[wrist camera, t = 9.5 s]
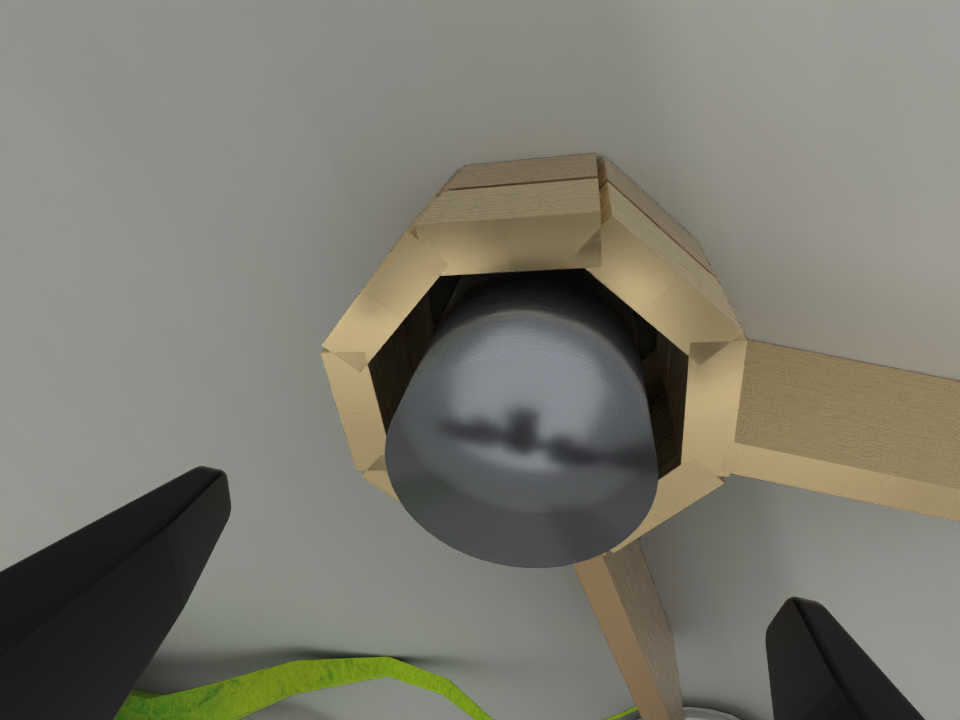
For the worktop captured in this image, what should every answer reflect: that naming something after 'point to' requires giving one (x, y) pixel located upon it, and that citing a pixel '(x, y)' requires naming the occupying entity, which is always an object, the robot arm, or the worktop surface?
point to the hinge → (648, 376)
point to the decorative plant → (287, 689)
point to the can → (705, 714)
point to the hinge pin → (527, 422)
